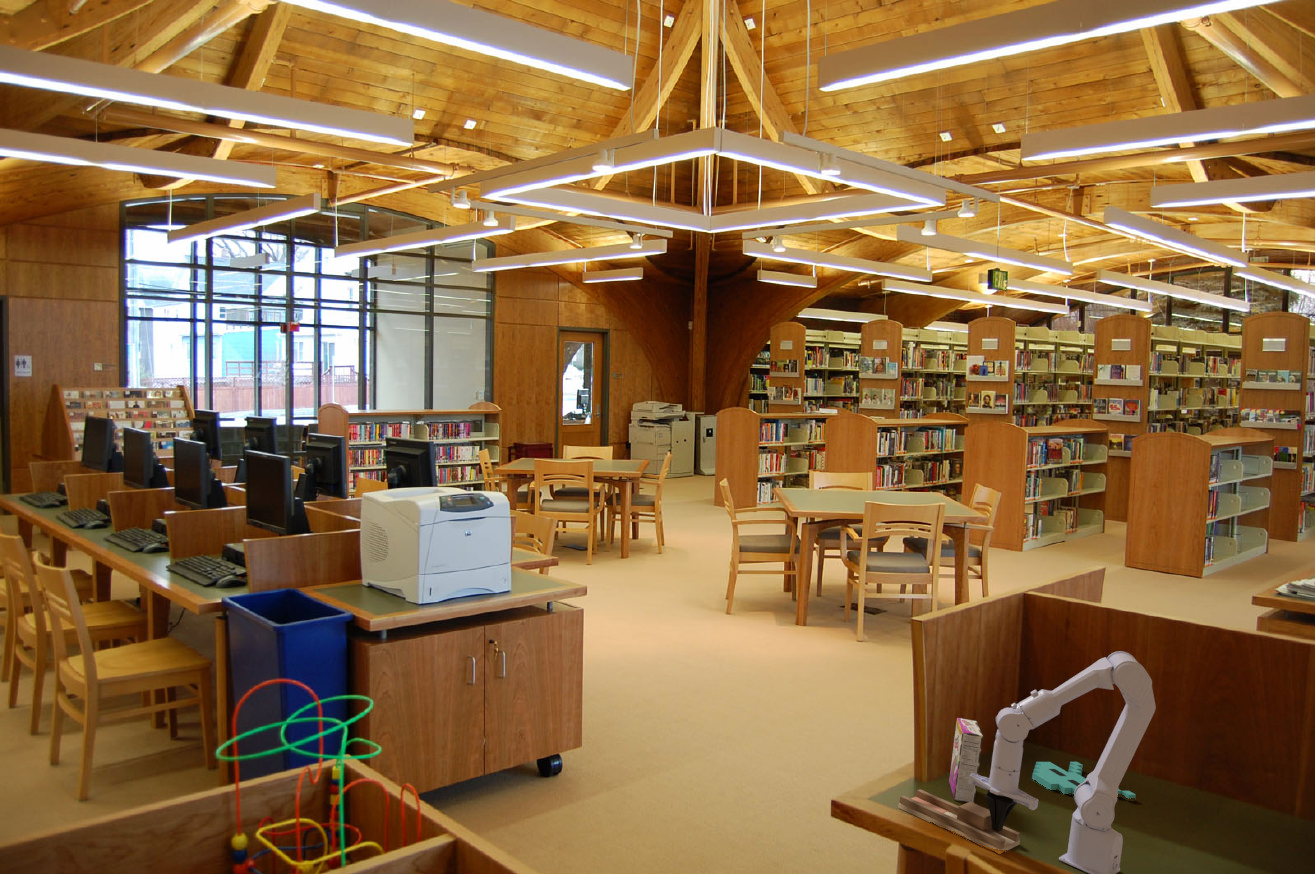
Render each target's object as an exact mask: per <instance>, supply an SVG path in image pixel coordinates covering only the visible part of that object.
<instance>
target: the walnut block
mask: <svg viewBox="0 0 1315 874" xmlns="http://www.w3.org/2000/svg"><path fill="white" fill-rule="evenodd" d="M958 806H959V807H958V814H957V820H960V821H962V822H964V823H966V824H968V825H971V826H973V827H975V828H977V829H980V830H982V831H984V832H986V833H990V832H992V831H993V829H992V822H991V816H990V811H989V808H986V807H983V806H981V805H979V804H978V803H972V802H968V803H967V802H965V803H964V804H961V805H958Z"/></svg>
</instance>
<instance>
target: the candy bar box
mask: <svg viewBox="0 0 1315 874" xmlns="http://www.w3.org/2000/svg"><path fill="white" fill-rule="evenodd" d="M954 732H955V733H954V738H953V749H952V755H951V756H952V757H951V763H950V773H949V780H948V783H949V786H950V790H951V792H952V796H953V800H955V801H957V802H962V803H968V802H972V803H974V804H976V803H975V801H976V793H977V788H978V786H976V785H971V784H968V780H969V775H970V774H973V773H974V774H977V775H979V770H980V762H981V754H982V746H983V745H982V744H983V739H984V735H983V733H982V730H981V729H980V726H979V724H978V721H977V720H973V719H967V718H963V717H957V718H956V724H955V731H954Z"/></svg>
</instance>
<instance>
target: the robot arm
mask: <svg viewBox="0 0 1315 874" xmlns="http://www.w3.org/2000/svg"><path fill="white" fill-rule="evenodd" d="M1114 685H1115V686H1117V688H1118V689H1119V691H1120V693H1121V695H1122V697H1123V699H1124V703H1125V705H1124V708H1123V710H1122V711H1121V713H1120V716H1119V718H1118V720H1117V722H1116V724H1115V726H1114V728H1113V730H1112V732H1111V734H1110V736H1109V737H1108V740H1107V743H1106V744H1105V747H1104V749H1103V751H1102V753H1101V755H1100V757H1099V759H1098V761H1097V763H1096V766H1095V767H1094V770H1093V771H1091V772H1090V773H1089V774H1087V776H1086V780H1085V781H1084V782H1083V783H1081V784H1080V785H1078V786H1077V788H1076V789H1075V791H1074V796H1073V800H1074V802H1075V804H1076V806H1077V808H1076V809H1075V811H1073V813H1072V818H1071V824H1070V831H1069V837H1068V838H1069V839H1068V847H1067V852H1066V853H1064V854H1062V855H1061V856H1059V857H1058V861H1060V862H1062V863H1065V864H1067V865H1070V866H1071V867H1074V868H1077V869H1078V870H1080V871H1083V872H1085V873H1088V874H1117V873H1119V872H1121V868H1120V866H1121V859H1122V853H1123V852H1122V851H1123V845H1124V844H1123V843H1124V838H1123V835H1122V833H1120V832H1118V831H1116V830H1115V829H1113V828H1112V824H1113V821H1114V820H1115V816H1116V815H1115V807H1116V804H1117V802H1118V798H1117V797H1118V789H1119V786H1120V784H1121V782H1122V780H1123V778H1124V776H1125V774H1126V773H1127V770H1128V768H1129V766H1130V764H1131V761H1132V760H1133V757H1134V756H1135V753H1136V751H1137V749H1138V747H1139V745H1140V743H1141V741H1142V739H1143V738H1144V734H1145V733H1146V731H1147V729H1148V726H1150V725H1149V724H1150V722H1151V720H1152V718H1153V716H1154V714H1155V712H1156V709H1157V708H1156V702H1155V701H1156V700H1155V696H1154V690H1153V679H1152V678H1151V676H1150V674H1149V673H1148V672H1147V670H1146V669H1145V667H1144V666H1143V665H1142V664H1141V663H1140V662H1138V660H1137V659H1136V658H1135V657H1134V656H1133V655H1132V654H1131V653H1129V652H1127V651H1121V650H1120V651H1119V650H1118V651H1115V652H1111V654H1109V655H1108V656H1107V657H1101V658H1100V659H1098V660H1097V661H1095V662H1093V663H1092V664H1091V665H1089V666H1088V667H1086V668H1085V669H1084V670H1082V671H1080V672H1079V673H1077V674H1076V675H1074V676H1073V677H1071V678H1069V679H1068V680H1066V681H1065V682H1063V683H1062V684H1060V685H1059V686H1058V687H1056V688H1054V689H1053V690H1048V689H1040V690H1039V691H1037V689H1034V690H1032V691H1030V696H1028V697H1026V698H1025V699H1023V700H1021V701H1019V702H1018V703H1016V702H1013V703H1011V704H1010V706H1011V707H1004V708H1002V709H1000V711H998V714H997V715H996V716H995V723H996V726H997V730H996V733H995V740H994V743H993V752H992V756H991V766H990V772H989V773H990V774H989V777H987V776H982V775H980V774H978V775H977V774H974V773H973V774H970V775H969V780H968V784H971V785H976V786H977V788H978V787H979V788H981V789H984V790H985V791H987V793H986V794H985V795H984V799H985V800H984V801H985V802H986V804H987V809H988V810H989V811H990V816H991V822H992V829H993V830H995V831H997V832H999V831H1001V830H1002V829H1003V826H1005V824H1006V821H1007V819H1008V817H1009V815H1010V814H1011V811H1012V810H1013V809H1014V808H1015V806H1016V805H1017V804H1019V805H1023V806H1024V807H1026V808H1028V809H1029V810H1031V811H1035V810H1037V809H1038V806H1039V799H1038V798H1036V797H1033V796H1032V795H1030V794H1028V793H1027V792H1025V791H1023V790H1021V789H1019V782H1020V775H1021V767H1022V759H1023V753H1024V747H1023V746H1024V740H1026V738H1027V737H1028V734H1029V731H1030V730H1034V729H1036V728H1038V727H1039V726H1041V725H1043V724H1044V723H1046V722H1049V721H1050V720H1051V719H1053V718H1055V717H1057V716H1058V715H1060V713H1061V708H1062V706H1063V705H1065V704H1067V703H1069V702H1071V701H1073V700H1075V699H1077V698H1079V697H1081V696H1083V695H1085V694H1087V693H1089V692H1091V691H1092V690H1094V689H1105V690H1110V691H1111V690H1112V691H1113V690H1115V689H1114Z"/></svg>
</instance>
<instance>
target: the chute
mask: <svg viewBox="0 0 1315 874" xmlns="http://www.w3.org/2000/svg"><path fill="white" fill-rule="evenodd" d="M959 806H960V805H957V804H954V803H953V802H950V801H948V800H945V799H944V798H941V797H938V796H937V795H934V794H932V793H929V792H927V791H926V790H923V789H917V790H916V796H914V797H908V796H907V795H901V796H899V802H898V809H900V810H901V811H905V812H906V813H909V814H911V815H913V816H915V817H917V818H919V819H922V820H924V821H926V822H929V823H930V822H933V823H934V824H936V825H938V826H937V827H939V826H942V827H945V828H946V829H948V830H951V831H955V832H956V833H958V834H960V835H962V836H965V837H966V838H967V839H969V840H972V841H973V842H975V843H978V844H981V845H984V846H987V847H990V848H993V849H998V850H1007V851H1009V850H1011V849H1013V848H1015V847H1017V846H1019V845H1020V843H1021V839H1020V837H1021V833H1020V832H1019V831H1016V830H1014V829H1012V828H1010V827H1008V826H1006V825H1004V826H1003V829H1002V830H1001V831H999V832H997V831H995V830H993V831H992V832H990V833H986V832H984V831H982V830H980V829H977V828H975V827H973V826H971V825H968V824H966V823H964V822H962V821H960V820H957V814H958V807H959ZM934 824H933V825H934ZM936 825H935V826H936ZM967 839H966V840H967ZM969 840H968V841H969ZM973 842H972V843H973ZM975 843H974V844H975Z"/></svg>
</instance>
